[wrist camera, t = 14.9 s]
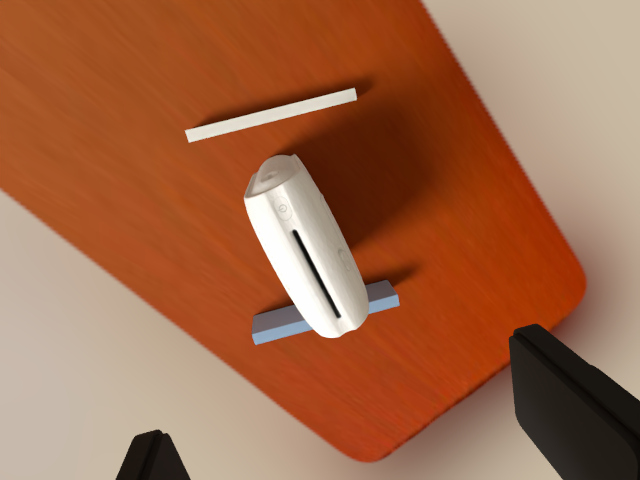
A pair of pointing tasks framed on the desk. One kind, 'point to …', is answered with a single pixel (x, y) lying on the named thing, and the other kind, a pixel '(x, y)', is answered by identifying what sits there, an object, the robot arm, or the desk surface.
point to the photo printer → (306, 246)
